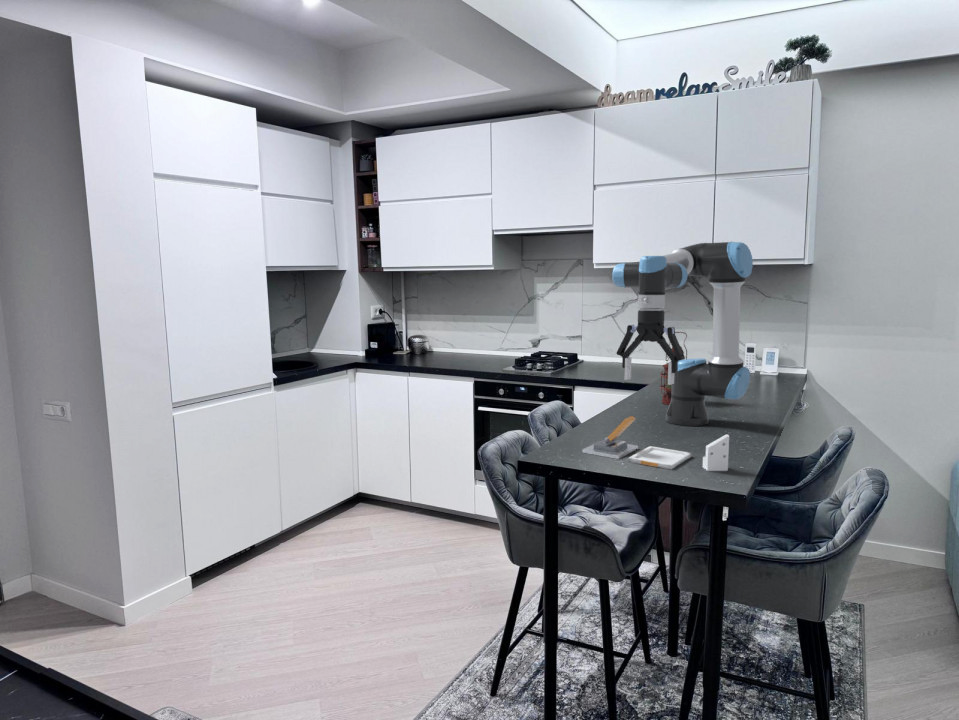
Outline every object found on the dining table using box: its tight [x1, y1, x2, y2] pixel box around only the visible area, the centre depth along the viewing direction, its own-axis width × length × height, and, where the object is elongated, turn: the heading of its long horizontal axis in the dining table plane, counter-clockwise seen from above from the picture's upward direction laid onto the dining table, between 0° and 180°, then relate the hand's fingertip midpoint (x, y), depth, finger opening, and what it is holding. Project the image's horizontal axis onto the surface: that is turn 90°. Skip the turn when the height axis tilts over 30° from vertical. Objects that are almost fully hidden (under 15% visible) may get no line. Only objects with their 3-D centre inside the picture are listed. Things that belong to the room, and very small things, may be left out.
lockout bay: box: [627, 445, 692, 470], centre depth 197 cm, size 16×13×1 cm
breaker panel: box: [582, 438, 639, 460], centre depth 206 cm, size 14×12×2 cm
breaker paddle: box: [603, 415, 636, 444], centre depth 204 cm, size 5×2×11 cm
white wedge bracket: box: [702, 434, 730, 472], centre depth 187 cm, size 4×10×9 cm, turn 92°
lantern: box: [660, 331, 688, 406], centre depth 276 cm, size 12×12×30 cm
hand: (648, 381), depth 196 cm, fingers open, 13 cm apart
